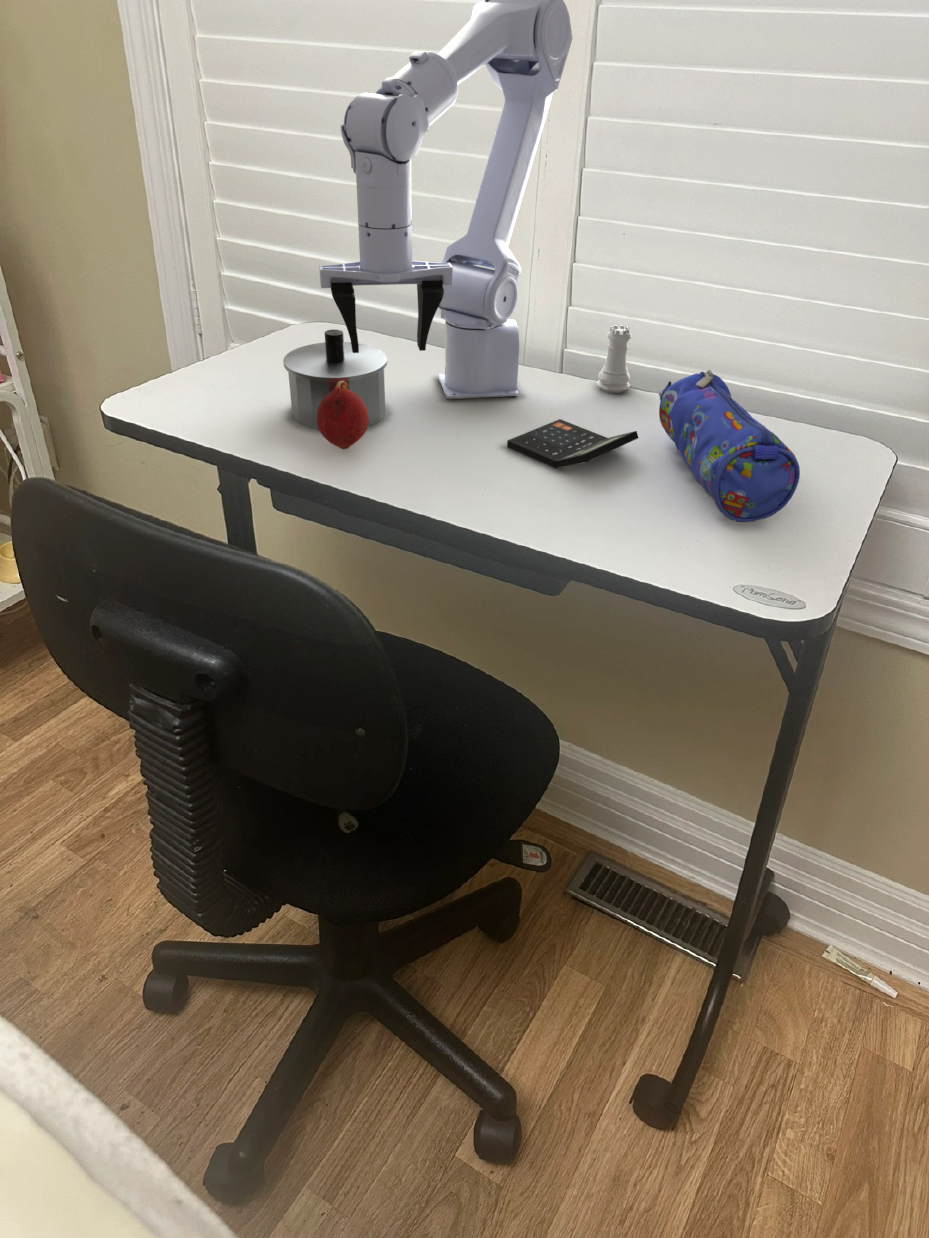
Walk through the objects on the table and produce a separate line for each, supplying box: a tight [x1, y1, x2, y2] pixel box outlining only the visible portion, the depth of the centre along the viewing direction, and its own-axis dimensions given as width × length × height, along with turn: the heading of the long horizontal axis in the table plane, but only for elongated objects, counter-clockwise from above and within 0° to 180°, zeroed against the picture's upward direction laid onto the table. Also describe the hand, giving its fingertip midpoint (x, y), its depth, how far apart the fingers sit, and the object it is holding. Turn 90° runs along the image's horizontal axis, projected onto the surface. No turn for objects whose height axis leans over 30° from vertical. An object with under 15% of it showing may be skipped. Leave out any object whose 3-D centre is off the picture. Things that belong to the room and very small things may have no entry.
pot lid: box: [282, 328, 388, 382], centre depth 108 cm, size 12×12×4 cm
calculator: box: [506, 418, 639, 469], centre depth 104 cm, size 9×12×3 cm
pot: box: [287, 368, 386, 431], centre depth 110 cm, size 11×11×6 cm
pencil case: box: [658, 369, 801, 523], centre depth 97 cm, size 22×9×10 cm, turn 6°
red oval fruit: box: [317, 380, 369, 450], centre depth 102 cm, size 6×6×8 cm
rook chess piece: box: [596, 324, 633, 394], centre depth 119 cm, size 4×4×8 cm
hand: (388, 349), depth 104 cm, fingers open, 7 cm apart
